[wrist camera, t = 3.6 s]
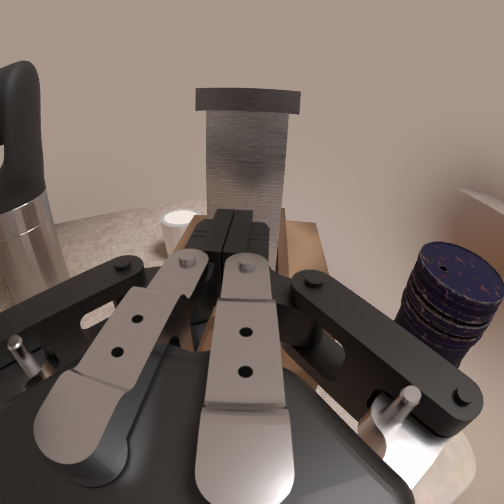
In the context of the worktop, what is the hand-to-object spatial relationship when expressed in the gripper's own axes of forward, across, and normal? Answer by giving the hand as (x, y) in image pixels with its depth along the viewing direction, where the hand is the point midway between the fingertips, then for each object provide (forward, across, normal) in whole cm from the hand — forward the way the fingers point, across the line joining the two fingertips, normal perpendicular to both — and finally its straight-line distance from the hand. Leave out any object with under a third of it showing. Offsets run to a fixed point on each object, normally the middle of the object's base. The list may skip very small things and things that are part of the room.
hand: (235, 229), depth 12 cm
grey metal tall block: (+6, 0, +8) cm, 10 cm away
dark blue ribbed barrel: (+7, -19, +20) cm, 29 cm away
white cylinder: (+29, +12, +20) cm, 38 cm away
